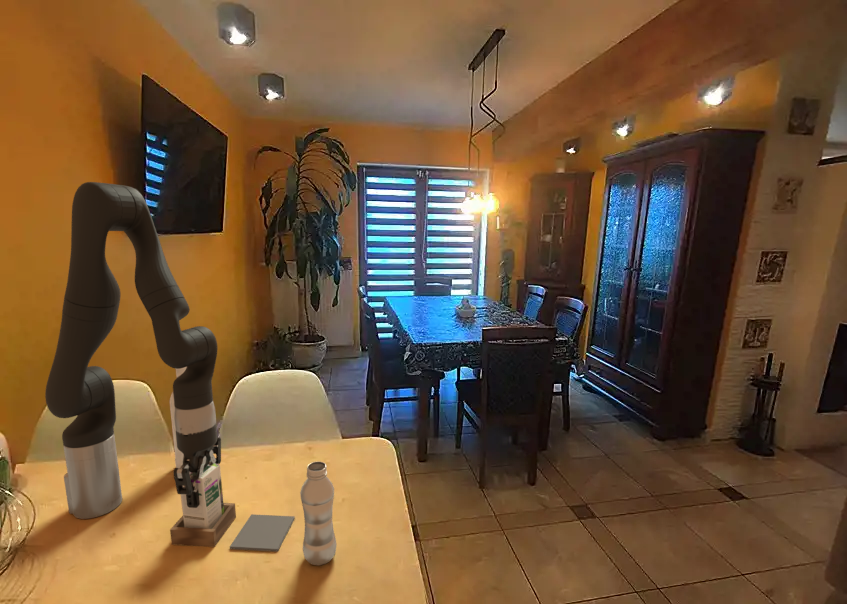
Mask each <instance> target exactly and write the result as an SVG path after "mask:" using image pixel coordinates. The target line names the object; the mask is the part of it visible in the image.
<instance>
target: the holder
mask: <svg viewBox="0 0 847 604" xmlns="http://www.w3.org/2000/svg"><path fill="white" fill-rule="evenodd" d="M223 504H224V514H223V515H222V516H221V518H220V519H219V520H218V521H217V523H216V524H215V525H214V527H213V528H212V529H204V528H184V519H183V515H182V516H180V518H179V519H178V520H177V521H176V522H175V523H174V524H173V526H172V527H171V528H170V529H169V531H170V543H171V545H173V546H191V547H194V546H195V547H210V548H215V547H216V546H217V545H218V543H219V542H220V541H221V539H222V537H223V536H224V535H225V533H226V532H227V531H228V529H229V528H230V526H231V525H232V524H233V522H234V521H235V519H236V518H237V512H236V511H237V510H236V503H235V502H223Z"/></svg>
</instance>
